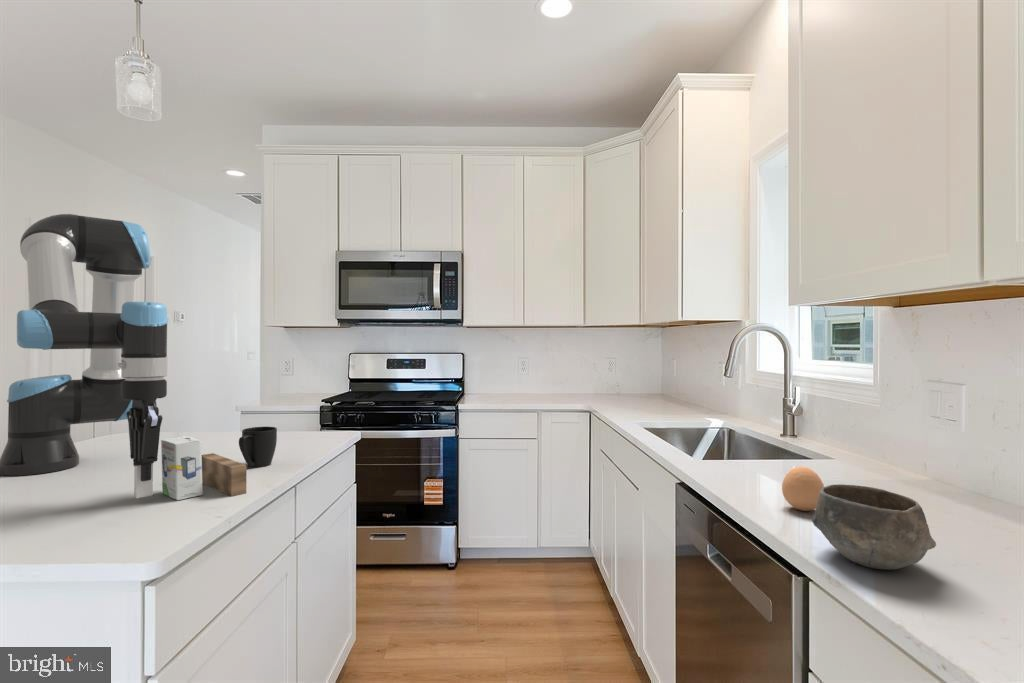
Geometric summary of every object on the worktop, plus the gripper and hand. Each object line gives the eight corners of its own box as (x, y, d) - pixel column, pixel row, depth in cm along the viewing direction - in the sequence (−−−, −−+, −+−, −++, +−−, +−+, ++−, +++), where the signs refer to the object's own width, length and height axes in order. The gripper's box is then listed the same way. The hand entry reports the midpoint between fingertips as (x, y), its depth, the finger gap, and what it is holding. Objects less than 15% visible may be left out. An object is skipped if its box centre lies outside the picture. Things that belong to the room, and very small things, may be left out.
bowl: (856, 584, 69) (856, 510, 69) (793, 540, 85) (793, 480, 85) (958, 584, 69) (958, 511, 69) (876, 540, 85) (877, 480, 85)
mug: (224, 472, 126) (224, 433, 126) (254, 461, 138) (255, 426, 138) (255, 473, 125) (255, 434, 125) (283, 462, 137) (283, 426, 137)
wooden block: (198, 481, 118) (198, 455, 118) (212, 478, 120) (213, 453, 120) (231, 496, 107) (231, 467, 107) (246, 493, 109) (246, 465, 109)
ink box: (203, 495, 107) (203, 439, 107) (175, 501, 103) (175, 443, 103) (186, 488, 112) (187, 434, 112) (159, 493, 108) (160, 438, 108)
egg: (778, 511, 99) (778, 467, 99) (785, 501, 105) (785, 460, 105) (822, 519, 95) (822, 473, 95) (826, 509, 101) (827, 466, 101)
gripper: (111, 378, 104) (110, 494, 103) (132, 381, 95) (131, 507, 95) (154, 376, 109) (154, 486, 109) (177, 379, 101) (176, 497, 101)
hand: (143, 495), depth 102 cm, fingers closed
